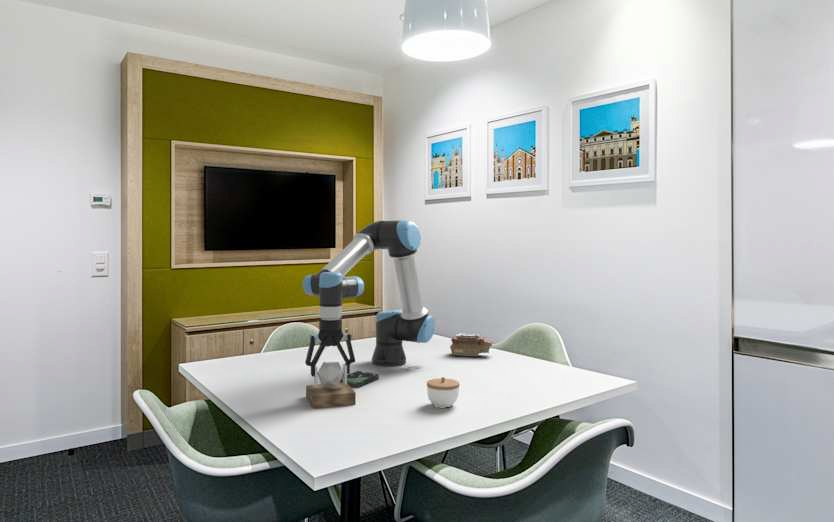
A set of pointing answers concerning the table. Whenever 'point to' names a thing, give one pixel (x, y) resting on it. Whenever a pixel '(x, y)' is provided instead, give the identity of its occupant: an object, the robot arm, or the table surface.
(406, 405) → the table surface
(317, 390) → the walnut base
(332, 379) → the die
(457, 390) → the lidded jar
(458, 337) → the decorative box
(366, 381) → the disk drive
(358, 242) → the robot arm
